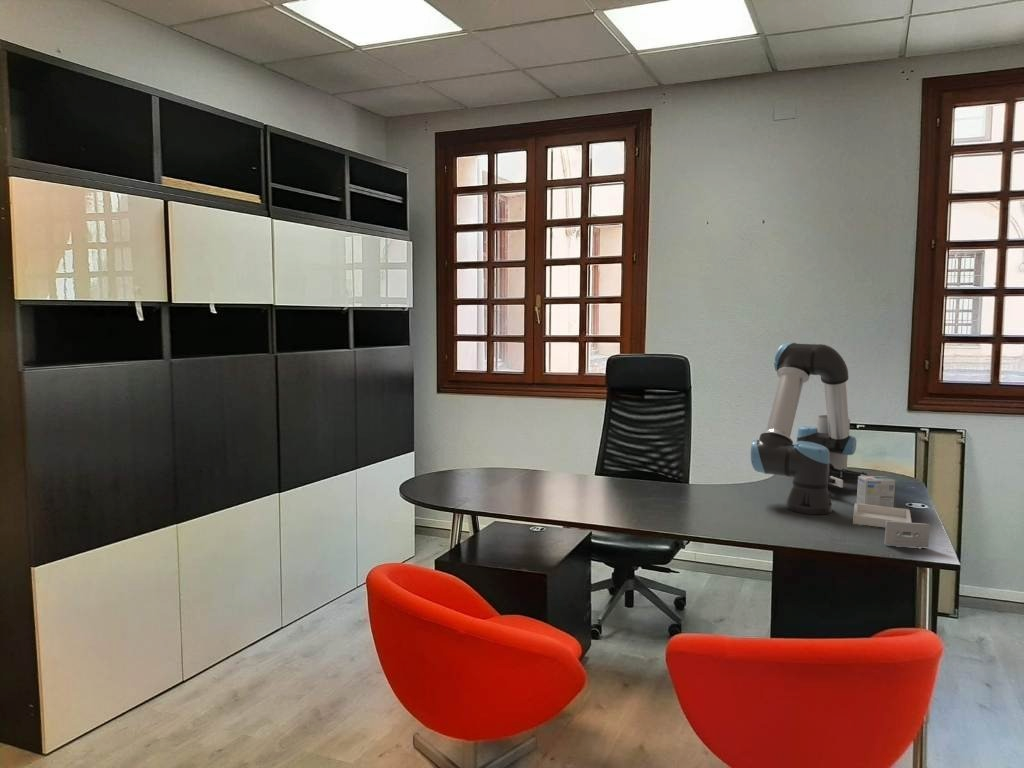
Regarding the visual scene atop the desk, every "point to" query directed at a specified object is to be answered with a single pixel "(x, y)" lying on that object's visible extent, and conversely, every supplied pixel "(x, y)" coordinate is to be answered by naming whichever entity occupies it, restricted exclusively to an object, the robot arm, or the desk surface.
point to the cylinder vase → (835, 459)
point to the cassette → (904, 540)
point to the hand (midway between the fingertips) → (857, 482)
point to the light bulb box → (876, 490)
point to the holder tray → (879, 515)
